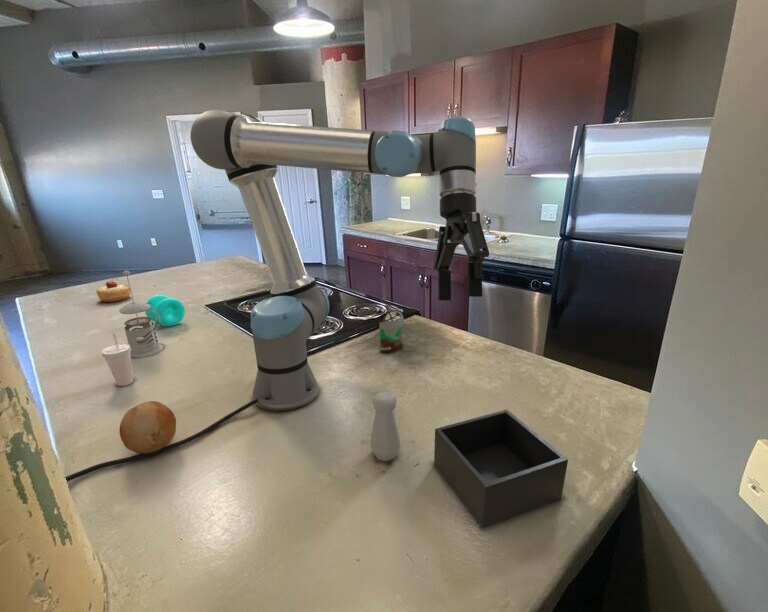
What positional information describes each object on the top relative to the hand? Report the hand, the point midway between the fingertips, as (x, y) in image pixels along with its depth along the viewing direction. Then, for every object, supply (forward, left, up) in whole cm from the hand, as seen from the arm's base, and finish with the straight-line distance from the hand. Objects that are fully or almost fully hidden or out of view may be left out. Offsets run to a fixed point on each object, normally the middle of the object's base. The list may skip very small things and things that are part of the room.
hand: (458, 298), depth 86 cm
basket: (-6, -24, -26) cm, 36 cm away
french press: (-70, +64, -26) cm, 98 cm away
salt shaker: (-21, -10, -26) cm, 35 cm away
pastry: (-89, +127, -26) cm, 157 cm away
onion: (-63, +10, -26) cm, 69 cm away
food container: (0, +35, -26) cm, 44 cm away
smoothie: (-73, +43, -26) cm, 89 cm away
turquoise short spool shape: (-66, +86, -26) cm, 112 cm away
